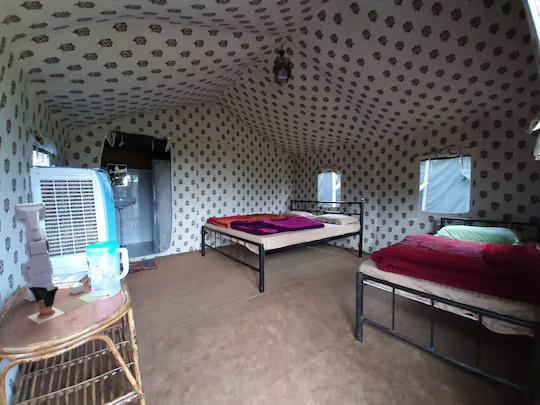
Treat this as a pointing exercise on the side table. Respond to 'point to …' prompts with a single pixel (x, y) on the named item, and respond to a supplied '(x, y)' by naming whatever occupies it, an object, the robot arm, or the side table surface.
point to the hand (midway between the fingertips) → (45, 303)
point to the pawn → (44, 310)
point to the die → (76, 288)
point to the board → (67, 307)
